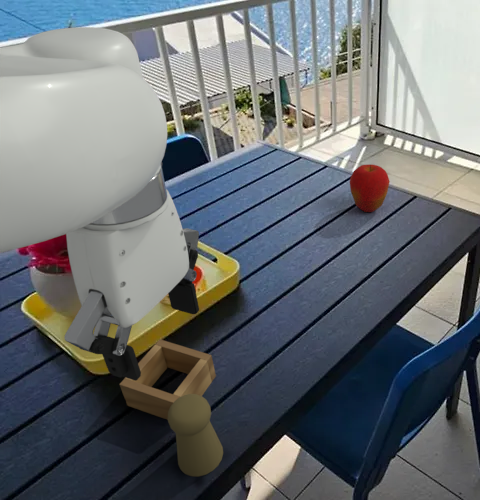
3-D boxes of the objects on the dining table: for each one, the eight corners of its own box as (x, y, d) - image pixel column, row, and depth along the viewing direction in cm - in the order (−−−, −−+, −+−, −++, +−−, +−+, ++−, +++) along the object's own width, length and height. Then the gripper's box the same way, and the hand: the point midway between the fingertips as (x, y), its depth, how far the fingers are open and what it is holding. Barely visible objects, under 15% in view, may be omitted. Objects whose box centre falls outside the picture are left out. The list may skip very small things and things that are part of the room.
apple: (388, 201, 124) (392, 157, 117) (385, 220, 117) (389, 174, 110) (351, 197, 125) (353, 153, 118) (346, 216, 118) (347, 170, 111)
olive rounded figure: (217, 429, 72) (206, 380, 65) (228, 465, 67) (217, 416, 61) (174, 445, 69) (158, 396, 63) (182, 483, 65) (166, 434, 59)
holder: (181, 424, 72) (175, 403, 69) (127, 405, 74) (119, 384, 72) (216, 376, 79) (211, 354, 76) (165, 360, 82) (159, 339, 79)
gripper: (146, 146, 49) (176, 282, 59) (-10, 236, 35) (63, 393, 45) (213, 158, 47) (233, 297, 57) (75, 259, 34) (132, 418, 43)
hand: (158, 339), depth 51 cm, fingers open, 9 cm apart
